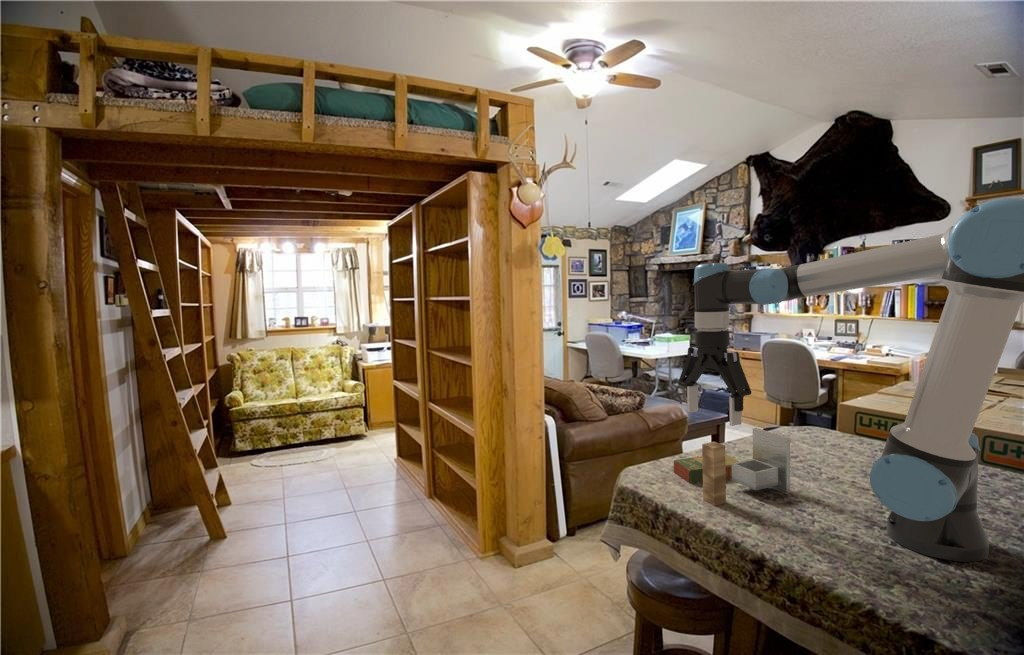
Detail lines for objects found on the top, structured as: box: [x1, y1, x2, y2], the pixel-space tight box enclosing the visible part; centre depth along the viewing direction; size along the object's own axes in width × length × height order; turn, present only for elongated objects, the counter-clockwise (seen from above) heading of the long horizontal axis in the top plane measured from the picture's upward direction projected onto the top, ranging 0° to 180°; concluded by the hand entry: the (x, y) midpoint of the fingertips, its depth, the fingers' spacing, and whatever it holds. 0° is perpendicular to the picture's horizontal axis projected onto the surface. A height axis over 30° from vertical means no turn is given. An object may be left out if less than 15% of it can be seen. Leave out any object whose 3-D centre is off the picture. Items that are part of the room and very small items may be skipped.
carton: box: [673, 453, 740, 484], centre depth 134 cm, size 8×16×4 cm, turn 101°
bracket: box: [731, 427, 791, 495], centre depth 123 cm, size 10×10×14 cm
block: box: [701, 441, 727, 507], centre depth 118 cm, size 4×4×14 cm
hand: (713, 418), depth 117 cm, fingers open, 13 cm apart
